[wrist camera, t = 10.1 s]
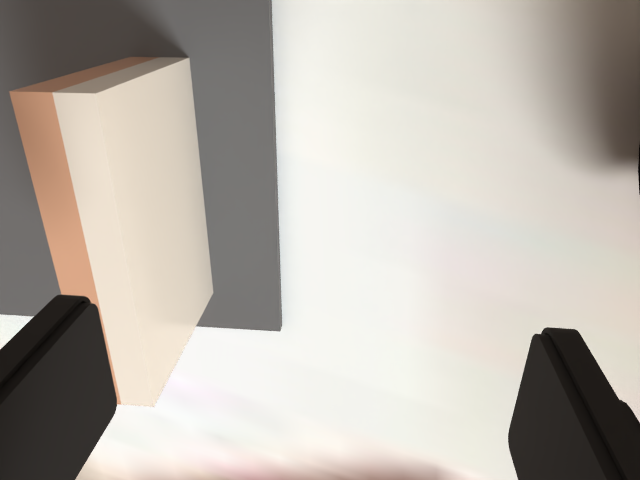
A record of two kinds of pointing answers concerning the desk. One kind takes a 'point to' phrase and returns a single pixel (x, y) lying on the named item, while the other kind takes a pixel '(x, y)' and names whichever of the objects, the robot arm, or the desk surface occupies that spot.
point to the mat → (212, 132)
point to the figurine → (639, 170)
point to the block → (124, 207)
